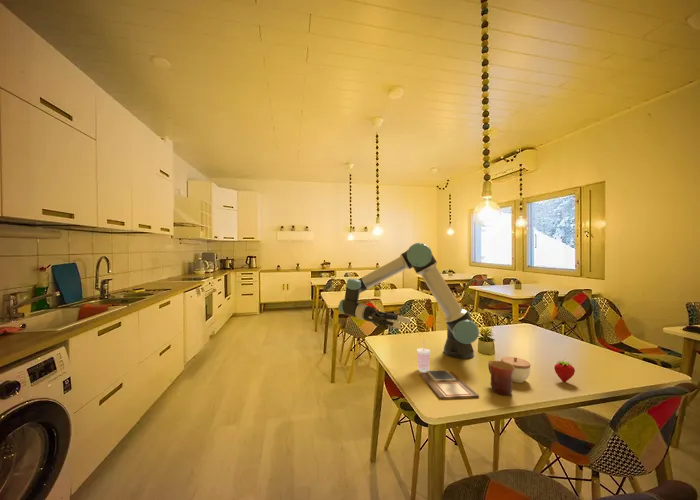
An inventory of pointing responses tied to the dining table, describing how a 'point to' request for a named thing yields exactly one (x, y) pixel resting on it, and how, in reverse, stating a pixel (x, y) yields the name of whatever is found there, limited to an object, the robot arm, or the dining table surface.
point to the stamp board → (448, 385)
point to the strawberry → (564, 370)
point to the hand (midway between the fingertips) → (405, 323)
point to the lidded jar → (518, 368)
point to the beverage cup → (423, 359)
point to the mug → (501, 377)
